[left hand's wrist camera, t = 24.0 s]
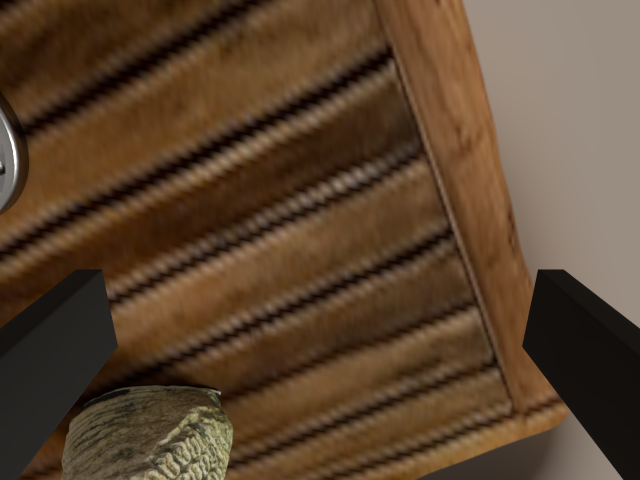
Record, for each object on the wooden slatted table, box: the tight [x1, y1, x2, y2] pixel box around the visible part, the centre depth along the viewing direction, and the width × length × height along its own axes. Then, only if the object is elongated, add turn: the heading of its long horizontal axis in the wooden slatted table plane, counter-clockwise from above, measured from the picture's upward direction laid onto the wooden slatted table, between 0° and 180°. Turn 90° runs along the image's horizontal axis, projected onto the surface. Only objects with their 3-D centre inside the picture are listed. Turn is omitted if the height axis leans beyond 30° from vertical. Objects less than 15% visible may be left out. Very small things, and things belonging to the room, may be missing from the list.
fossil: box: [61, 385, 233, 480], centre depth 40 cm, size 9×18×15 cm, turn 109°
